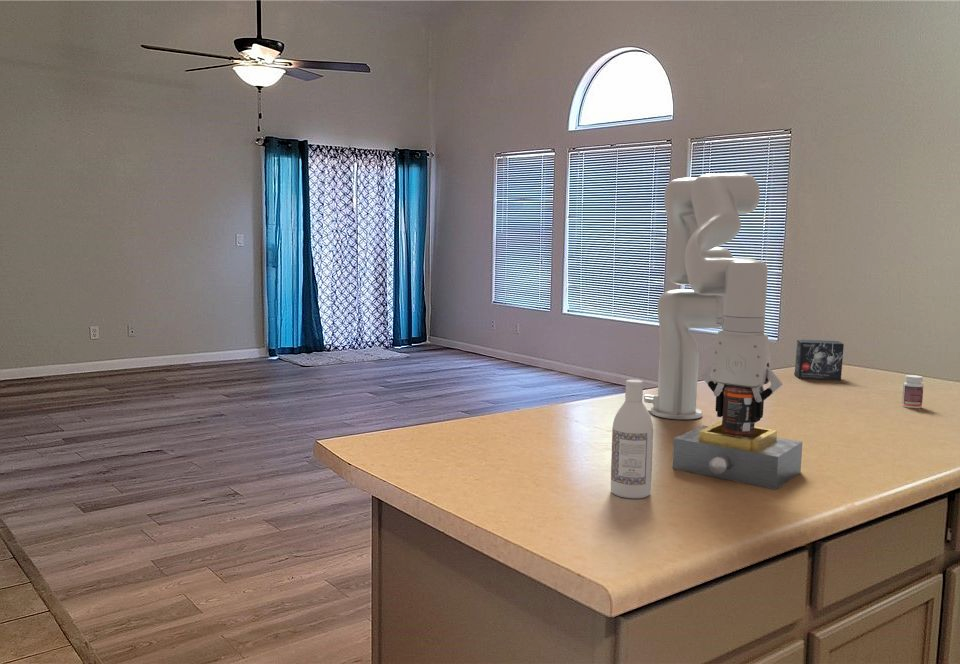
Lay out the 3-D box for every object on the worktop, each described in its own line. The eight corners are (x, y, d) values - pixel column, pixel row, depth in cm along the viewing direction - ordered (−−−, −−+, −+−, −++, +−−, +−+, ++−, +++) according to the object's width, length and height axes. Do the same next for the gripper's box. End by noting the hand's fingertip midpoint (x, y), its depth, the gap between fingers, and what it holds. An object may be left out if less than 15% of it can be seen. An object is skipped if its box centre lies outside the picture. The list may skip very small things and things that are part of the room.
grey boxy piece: (665, 471, 155) (667, 432, 154) (701, 453, 168) (703, 416, 167) (770, 493, 142) (773, 450, 141) (800, 472, 156) (803, 432, 155)
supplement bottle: (755, 438, 152) (759, 379, 151) (723, 436, 153) (726, 377, 152) (751, 430, 158) (755, 373, 156) (720, 428, 159) (723, 372, 158)
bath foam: (623, 484, 146) (626, 375, 144) (657, 492, 142) (662, 380, 140) (602, 493, 141) (606, 380, 139) (638, 502, 137) (642, 386, 134)
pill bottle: (925, 408, 215) (927, 377, 214) (907, 408, 215) (909, 377, 214) (916, 405, 220) (918, 374, 219) (898, 404, 220) (900, 374, 219)
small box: (798, 378, 259) (800, 341, 258) (793, 375, 266) (795, 339, 264) (841, 380, 257) (844, 343, 256) (836, 376, 264) (838, 340, 262)
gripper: (692, 323, 155) (688, 415, 158) (783, 331, 145) (777, 429, 147) (707, 320, 161) (703, 408, 163) (796, 327, 151) (790, 422, 153)
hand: (738, 417), depth 155 cm, fingers closed on supplement bottle, 6 cm apart
